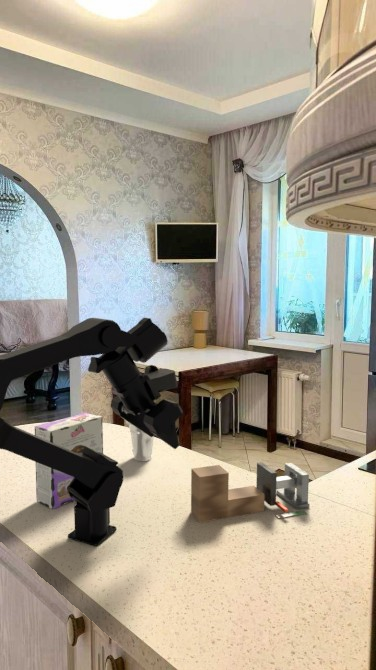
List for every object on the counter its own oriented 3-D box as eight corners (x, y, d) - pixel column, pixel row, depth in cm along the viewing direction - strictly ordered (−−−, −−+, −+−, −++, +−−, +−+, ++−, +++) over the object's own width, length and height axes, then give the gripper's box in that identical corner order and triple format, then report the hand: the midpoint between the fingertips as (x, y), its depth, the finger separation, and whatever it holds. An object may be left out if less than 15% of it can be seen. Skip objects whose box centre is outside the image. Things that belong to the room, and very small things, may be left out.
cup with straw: (119, 457, 130) (118, 381, 128) (147, 449, 136) (146, 377, 134) (139, 466, 124) (139, 387, 122) (167, 458, 130) (167, 382, 128)
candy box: (87, 481, 115) (86, 411, 113) (104, 488, 111) (103, 415, 109) (35, 501, 104) (33, 424, 103) (52, 510, 101) (50, 430, 99)
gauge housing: (278, 518, 98) (279, 485, 97) (253, 497, 107) (254, 466, 106) (315, 512, 101) (316, 479, 100) (288, 491, 110) (289, 461, 109)
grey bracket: (279, 513, 97) (280, 479, 96) (256, 493, 106) (256, 462, 105) (316, 507, 100) (317, 474, 99) (290, 488, 109) (291, 458, 108)
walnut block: (199, 522, 96) (199, 477, 95) (191, 511, 100) (191, 468, 99) (264, 510, 101) (265, 467, 100) (253, 501, 105) (254, 460, 104)
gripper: (184, 357, 88) (221, 425, 93) (135, 347, 103) (170, 406, 109) (135, 397, 83) (178, 465, 89) (92, 380, 99) (131, 439, 104)
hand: (164, 441), depth 98 cm, fingers open, 9 cm apart
